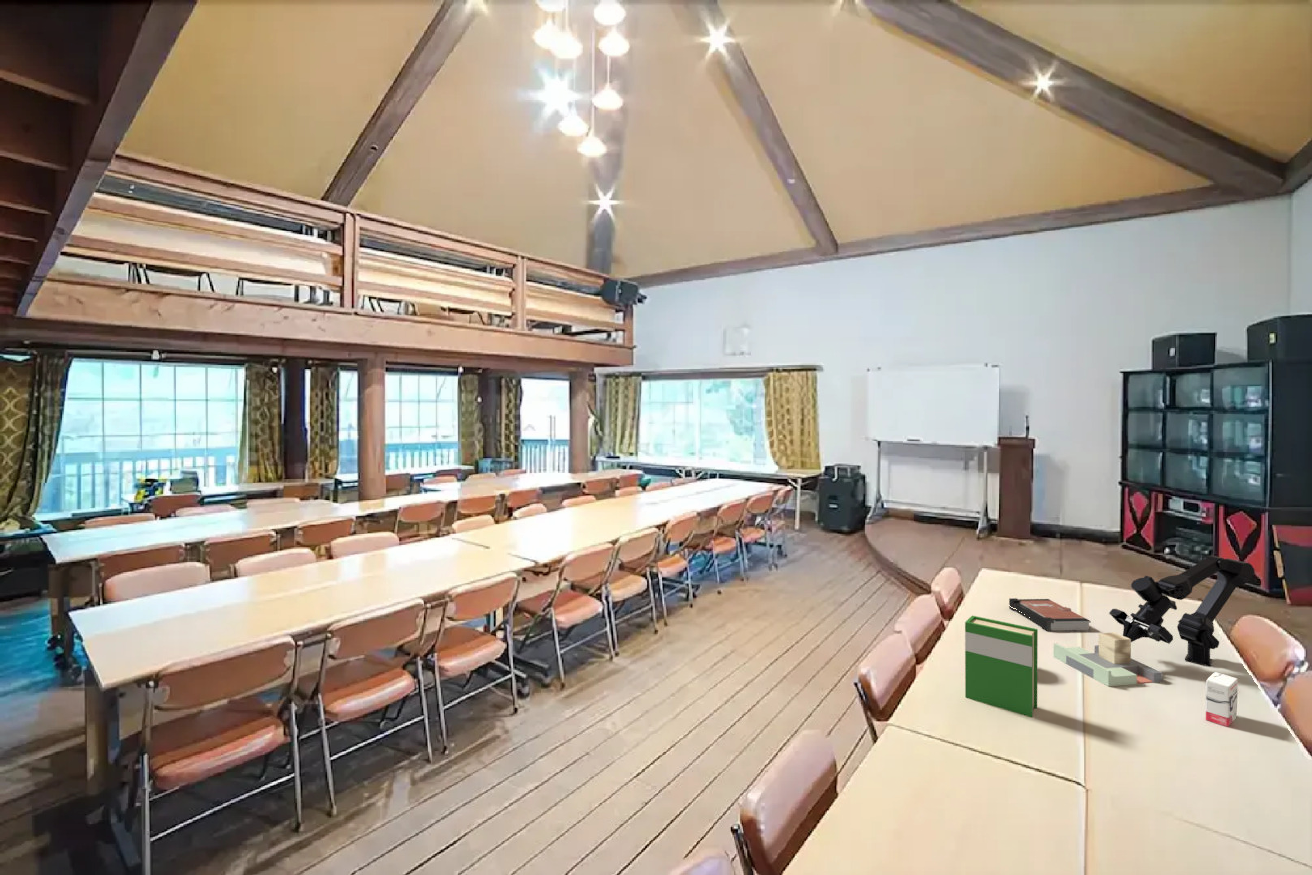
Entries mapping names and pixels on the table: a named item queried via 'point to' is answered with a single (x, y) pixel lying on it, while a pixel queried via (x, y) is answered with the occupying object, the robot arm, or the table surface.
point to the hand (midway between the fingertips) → (1123, 643)
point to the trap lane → (1106, 667)
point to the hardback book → (1001, 664)
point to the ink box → (1221, 699)
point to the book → (1049, 615)
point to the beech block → (1114, 648)
